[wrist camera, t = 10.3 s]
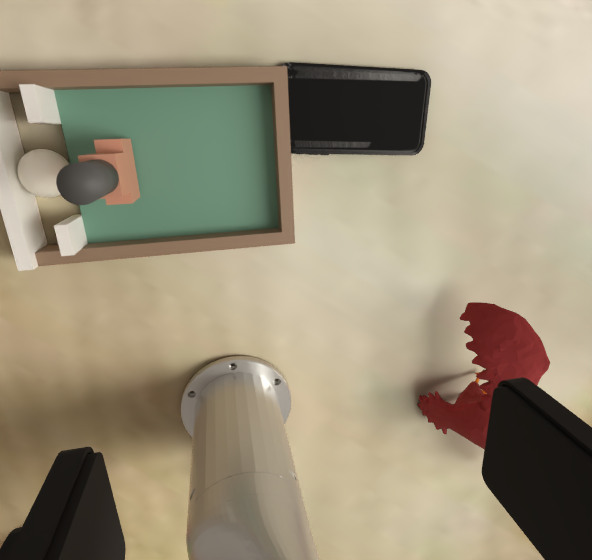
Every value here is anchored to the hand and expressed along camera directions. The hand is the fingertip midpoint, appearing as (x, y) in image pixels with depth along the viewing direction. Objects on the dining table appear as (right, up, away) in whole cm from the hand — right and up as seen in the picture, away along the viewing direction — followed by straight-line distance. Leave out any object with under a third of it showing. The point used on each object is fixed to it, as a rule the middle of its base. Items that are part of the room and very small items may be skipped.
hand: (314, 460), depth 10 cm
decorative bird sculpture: (+21, -10, +44) cm, 50 cm away
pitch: (-12, +15, +28) cm, 34 cm away
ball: (-22, +13, +25) cm, 35 cm away
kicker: (-16, +14, +26) cm, 34 cm away
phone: (+5, +21, +30) cm, 37 cm away
